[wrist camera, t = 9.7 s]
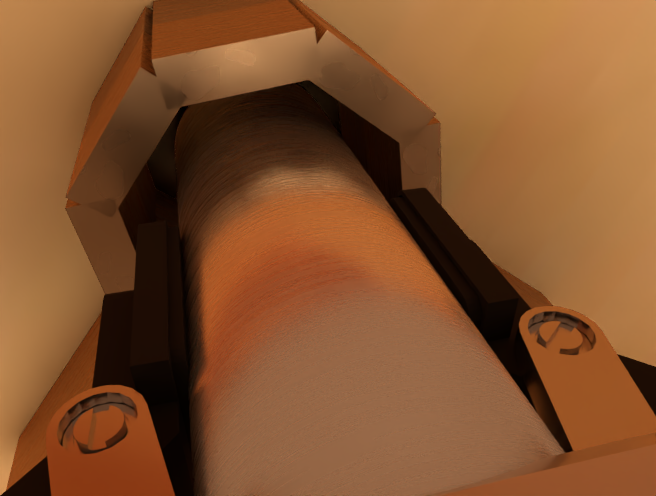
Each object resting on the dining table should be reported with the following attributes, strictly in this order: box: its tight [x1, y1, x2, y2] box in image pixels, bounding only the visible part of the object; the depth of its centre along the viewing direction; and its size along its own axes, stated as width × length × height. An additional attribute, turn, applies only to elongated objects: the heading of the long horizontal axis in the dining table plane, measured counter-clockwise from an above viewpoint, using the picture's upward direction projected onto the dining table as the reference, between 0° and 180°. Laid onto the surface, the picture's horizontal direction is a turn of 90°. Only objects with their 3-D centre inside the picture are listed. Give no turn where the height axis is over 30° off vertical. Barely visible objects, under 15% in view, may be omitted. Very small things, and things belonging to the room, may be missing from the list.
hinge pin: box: [174, 83, 565, 496], centre depth 10 cm, size 4×4×14 cm
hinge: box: [6, 0, 553, 490], centre depth 20 cm, size 20×20×6 cm
